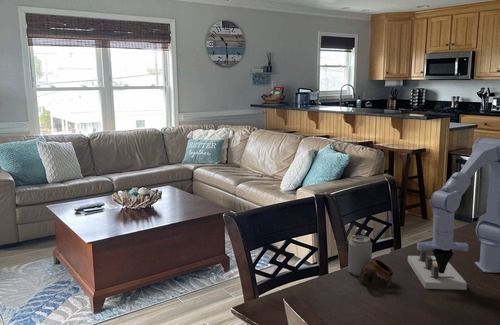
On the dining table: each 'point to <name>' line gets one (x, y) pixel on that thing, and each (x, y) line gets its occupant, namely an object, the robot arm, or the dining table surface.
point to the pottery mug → (370, 272)
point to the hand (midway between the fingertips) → (441, 272)
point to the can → (359, 254)
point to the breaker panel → (444, 280)
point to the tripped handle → (435, 271)
